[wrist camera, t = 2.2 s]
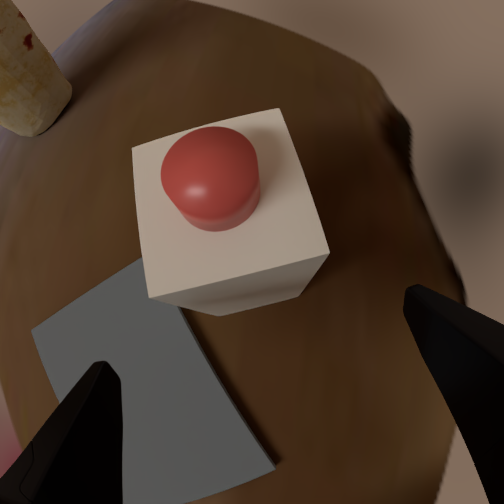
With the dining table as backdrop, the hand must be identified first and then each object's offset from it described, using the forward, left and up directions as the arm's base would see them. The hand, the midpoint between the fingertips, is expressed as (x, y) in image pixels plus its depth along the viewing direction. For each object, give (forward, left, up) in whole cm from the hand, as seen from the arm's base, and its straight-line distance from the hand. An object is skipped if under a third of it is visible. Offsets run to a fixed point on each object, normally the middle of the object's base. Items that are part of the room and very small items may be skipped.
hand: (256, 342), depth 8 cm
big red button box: (+4, -1, -10) cm, 11 cm away
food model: (+29, +10, -11) cm, 32 cm away
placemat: (0, +10, -10) cm, 14 cm away
